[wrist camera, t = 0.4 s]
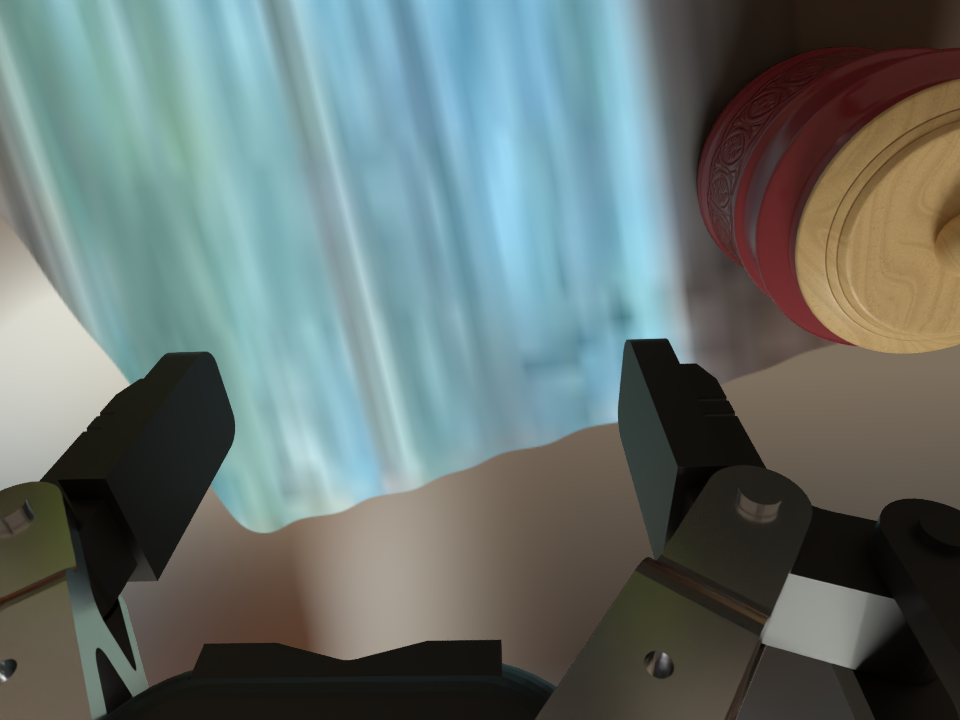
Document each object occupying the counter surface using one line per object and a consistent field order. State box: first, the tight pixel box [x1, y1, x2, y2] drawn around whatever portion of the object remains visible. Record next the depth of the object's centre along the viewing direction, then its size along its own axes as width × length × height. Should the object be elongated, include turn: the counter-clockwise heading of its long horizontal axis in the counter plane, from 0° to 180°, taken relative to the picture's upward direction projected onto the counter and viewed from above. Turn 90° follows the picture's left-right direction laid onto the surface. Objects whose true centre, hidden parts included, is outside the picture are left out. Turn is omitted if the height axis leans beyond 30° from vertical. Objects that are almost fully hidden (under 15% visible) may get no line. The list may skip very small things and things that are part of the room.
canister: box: [697, 47, 960, 353], centre depth 29 cm, size 13×13×18 cm
